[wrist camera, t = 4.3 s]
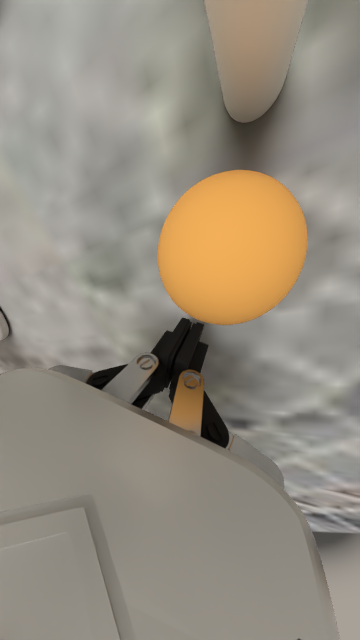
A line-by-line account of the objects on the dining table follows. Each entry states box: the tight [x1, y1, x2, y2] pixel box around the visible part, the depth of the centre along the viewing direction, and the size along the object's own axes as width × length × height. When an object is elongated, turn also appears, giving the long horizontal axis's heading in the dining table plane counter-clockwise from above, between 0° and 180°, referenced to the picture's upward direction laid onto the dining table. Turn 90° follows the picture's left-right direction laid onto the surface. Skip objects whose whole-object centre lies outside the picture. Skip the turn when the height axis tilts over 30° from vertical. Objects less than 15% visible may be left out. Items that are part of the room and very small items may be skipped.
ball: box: [158, 170, 308, 325], centre depth 7 cm, size 6×6×6 cm
